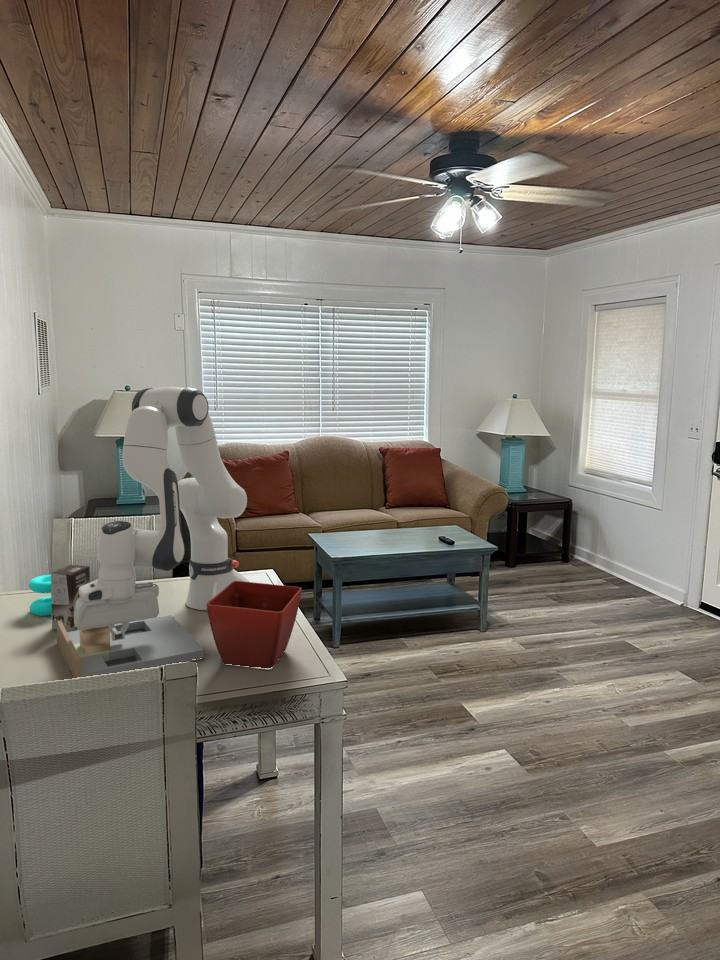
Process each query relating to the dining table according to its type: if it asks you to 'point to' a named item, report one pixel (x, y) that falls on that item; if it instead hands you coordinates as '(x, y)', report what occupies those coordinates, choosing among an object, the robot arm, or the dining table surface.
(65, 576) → the coffee box
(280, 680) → the dining table surface
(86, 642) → the oak block
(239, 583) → the plant pot
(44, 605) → the cyan spool
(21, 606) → the dining table surface
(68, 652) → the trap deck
